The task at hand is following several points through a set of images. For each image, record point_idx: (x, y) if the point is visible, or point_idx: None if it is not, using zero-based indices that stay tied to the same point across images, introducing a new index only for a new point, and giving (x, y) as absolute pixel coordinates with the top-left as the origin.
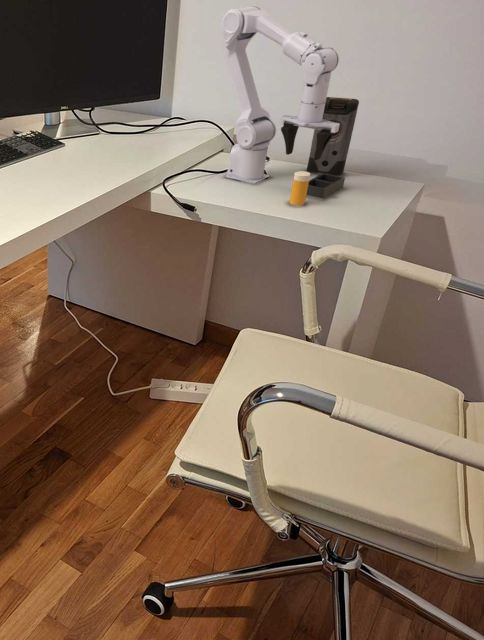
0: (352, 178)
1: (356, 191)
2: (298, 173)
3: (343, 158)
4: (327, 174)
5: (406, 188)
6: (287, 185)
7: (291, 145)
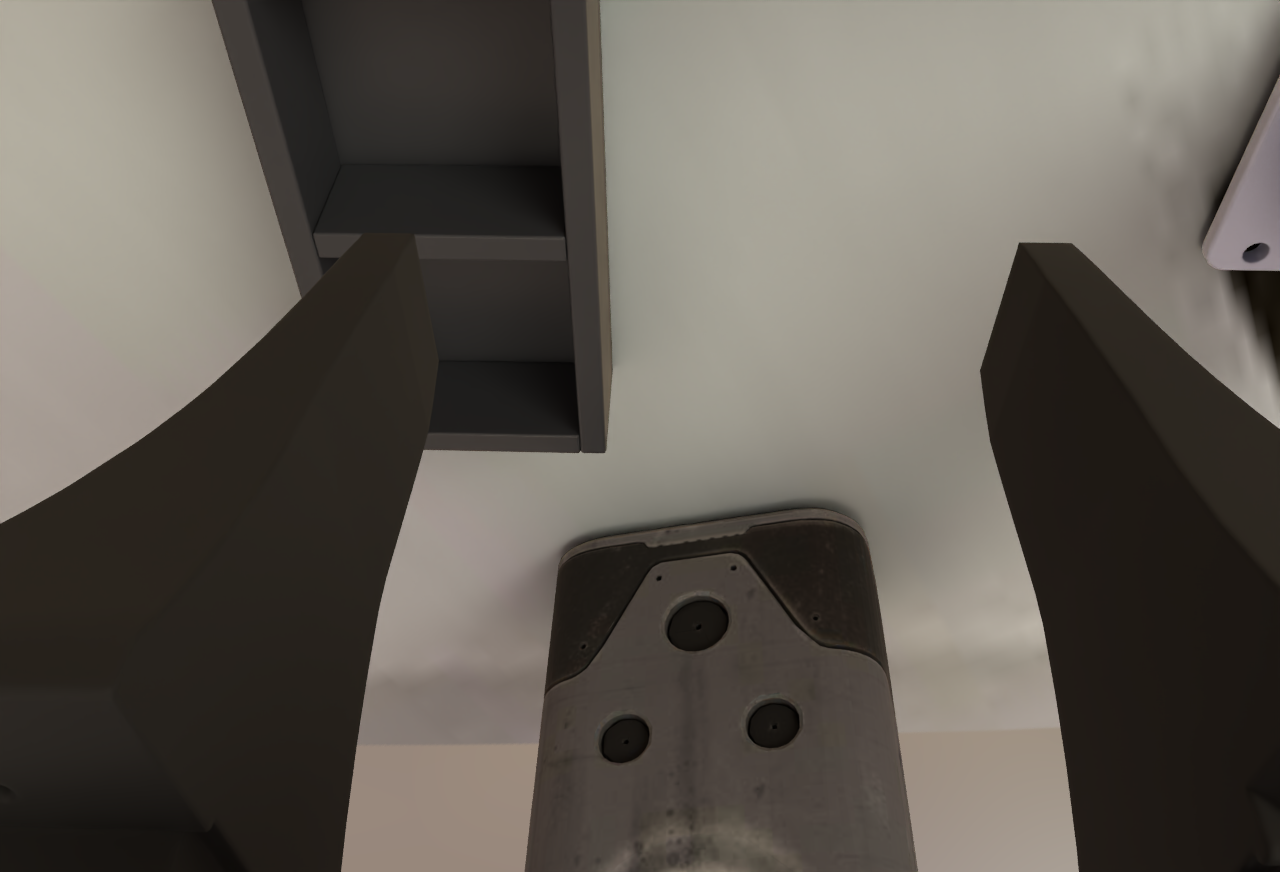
0: (476, 582)
1: (229, 361)
2: None
3: (545, 711)
4: (542, 442)
5: None
6: (900, 128)
7: (1044, 445)
